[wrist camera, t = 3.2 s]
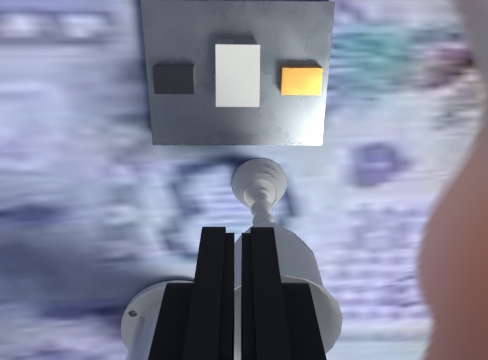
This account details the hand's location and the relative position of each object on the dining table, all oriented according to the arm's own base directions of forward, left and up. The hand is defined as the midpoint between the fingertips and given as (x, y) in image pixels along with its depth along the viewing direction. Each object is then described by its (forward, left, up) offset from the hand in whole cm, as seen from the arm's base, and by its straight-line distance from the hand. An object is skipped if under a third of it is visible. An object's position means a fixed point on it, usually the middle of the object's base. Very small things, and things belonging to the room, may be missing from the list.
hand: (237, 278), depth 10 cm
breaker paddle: (0, 0, -25) cm, 25 cm away
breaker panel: (0, 0, -27) cm, 27 cm away
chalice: (-10, -2, -27) cm, 29 cm away
